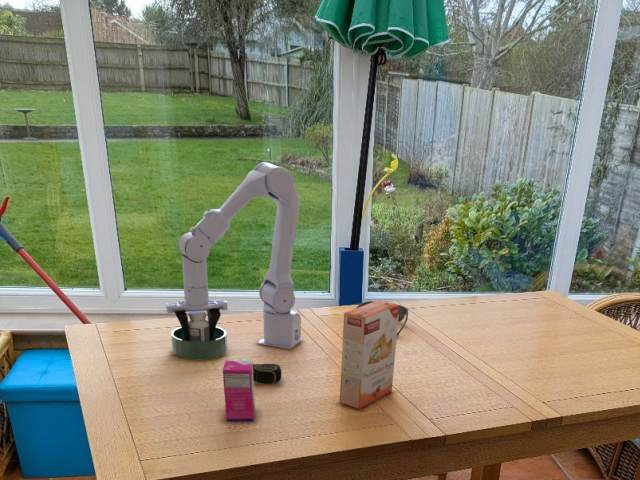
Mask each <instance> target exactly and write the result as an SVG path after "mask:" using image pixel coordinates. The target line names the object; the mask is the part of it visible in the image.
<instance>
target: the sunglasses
mask: <svg viewBox="0 0 640 480" xmlns="http://www.w3.org/2000/svg"><path fill="white" fill-rule="evenodd" d="M372 302H375V301H374V300H373V301H371V300H370V301H364V302H361V303H360V304H358V306H355V308H354V309H356V308H359V307H361V306H364V305H367V304H370V303H372ZM398 305H399V317H398V323H399V322H403V320H404V322H403V324H402V326H401V327H400V329H399V330H398V331H397V338H398V337H399V335H400V334H401V332H402V331H403V329H404V327H405V325H406V323H407V322H408V319H409V309H408V308H407V307H405V306H403V305H401V304H398Z"/></svg>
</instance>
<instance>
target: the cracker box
mask: <svg viewBox="0 0 640 480" xmlns="http://www.w3.org/2000/svg"><path fill="white" fill-rule="evenodd" d="M399 305H400V304H397V303H394V302H390V301H385V300H380V299H378V300H375V301H374V302H372V303H370V304H367V305H364V306H361V307H359V308H356V307H355V308H356V309H355V308H353V309H351V310H348V311H345V312H344V313H343V329H342V330H343V332H342V350H341V368H340V369H341V370H340V385H339V386H340V389H339V403H340V404H342V405H345V406H348V407H351V408H354V409H357V410H362V409H363V408H365V407H366V406H369V405H370V404H372V403H374V402H375V401H377V400H379V399H381V398H382V397H384V396H386V395H388V394H390V393H391V392H393V381H394V372H395V371H394V370H395V359H396V349H397V339H398V337H397V333H398V326H399V322H398V317H399Z"/></svg>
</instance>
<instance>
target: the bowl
mask: <svg viewBox="0 0 640 480" xmlns="http://www.w3.org/2000/svg"><path fill="white" fill-rule="evenodd" d="M227 334H228V333H227V330H225V329H223V328H222V327H219V326H216V327H215V331H214V336H213V340H210V341H198V342H197V341H186V340H185V337H184V333H183V329H182V327H181V326H180V327H177V328H174V329H173V330H172V331H171V332H170V335H171V336H170V337H171V347H172V348H171V349H172V354H173V355H175V356H177V357H179V358H182V359H187V360H194V361H195V360H197V361H200V360H201V361H202V360H211V359H217V358H219V357H222V356H224V355H225V354H227V352H228V335H227Z"/></svg>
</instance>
